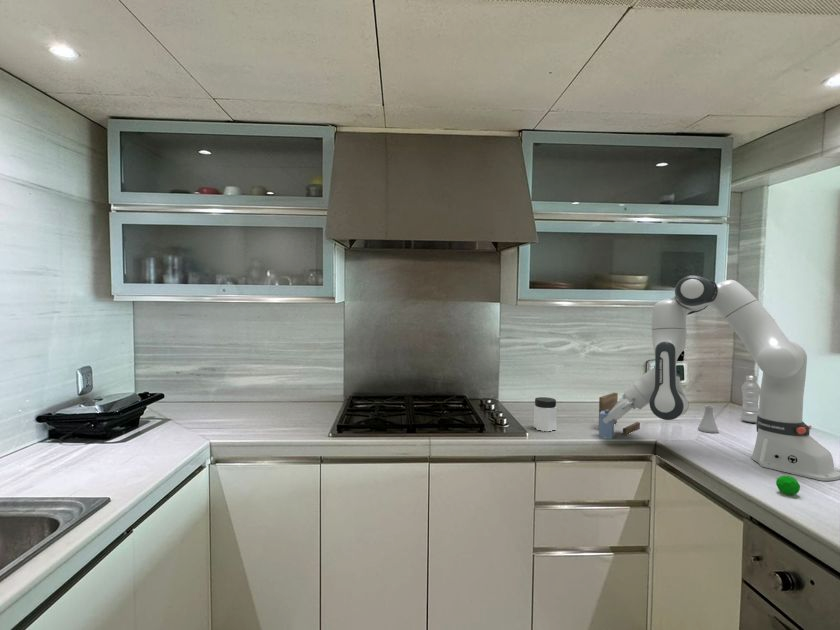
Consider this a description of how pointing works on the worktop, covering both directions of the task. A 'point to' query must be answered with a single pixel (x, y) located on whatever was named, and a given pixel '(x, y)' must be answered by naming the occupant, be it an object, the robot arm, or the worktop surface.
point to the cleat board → (609, 403)
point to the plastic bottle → (750, 399)
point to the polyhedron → (788, 485)
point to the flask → (708, 421)
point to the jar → (545, 414)
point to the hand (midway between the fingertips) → (606, 418)
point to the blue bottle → (605, 425)
